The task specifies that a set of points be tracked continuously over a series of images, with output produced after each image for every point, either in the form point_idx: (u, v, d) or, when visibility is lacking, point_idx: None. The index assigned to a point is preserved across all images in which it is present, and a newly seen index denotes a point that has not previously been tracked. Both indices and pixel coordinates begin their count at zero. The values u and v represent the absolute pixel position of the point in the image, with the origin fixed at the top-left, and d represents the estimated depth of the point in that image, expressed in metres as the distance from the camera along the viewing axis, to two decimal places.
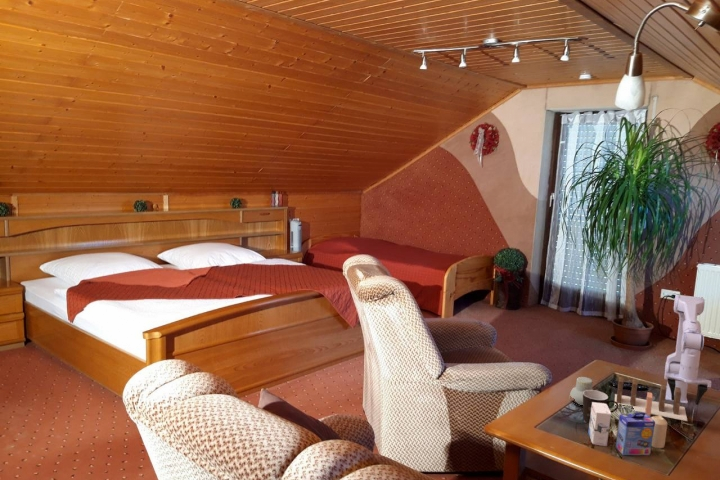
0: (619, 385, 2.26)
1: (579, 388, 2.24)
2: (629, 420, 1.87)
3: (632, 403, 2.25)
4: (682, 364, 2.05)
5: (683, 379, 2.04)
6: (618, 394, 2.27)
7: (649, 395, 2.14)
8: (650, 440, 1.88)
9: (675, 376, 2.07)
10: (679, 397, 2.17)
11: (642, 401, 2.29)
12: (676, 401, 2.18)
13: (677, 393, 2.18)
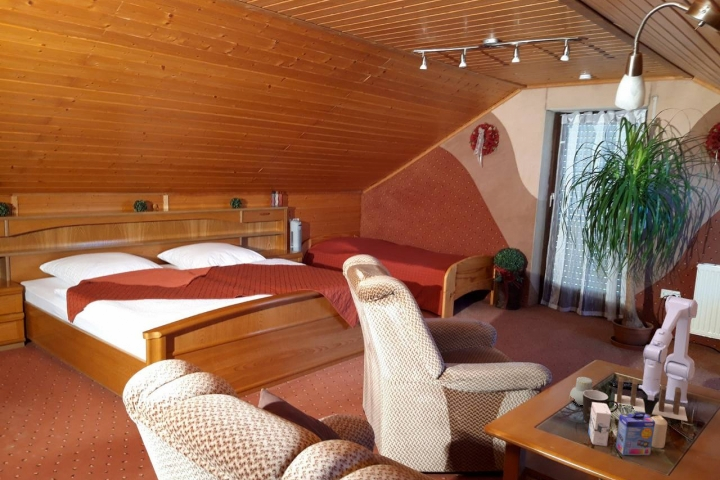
0: (619, 385, 2.26)
1: (579, 388, 2.24)
2: (629, 420, 1.87)
3: (632, 403, 2.25)
4: (644, 374, 2.14)
5: None
6: (618, 394, 2.27)
7: None
8: (650, 440, 1.88)
9: None
10: (679, 397, 2.17)
11: (642, 401, 2.29)
12: (676, 401, 2.18)
13: (677, 393, 2.18)
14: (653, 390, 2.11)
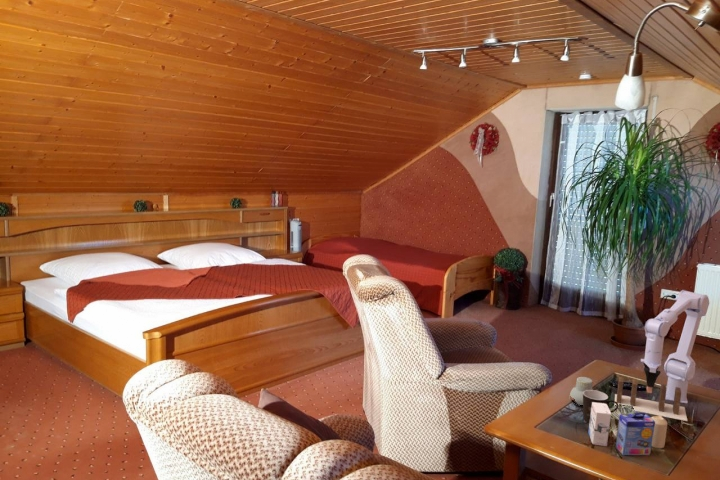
0: (619, 385, 2.26)
1: (579, 388, 2.24)
2: (629, 420, 1.87)
3: (632, 403, 2.25)
4: None
5: None
6: (618, 394, 2.27)
7: None
8: (650, 440, 1.88)
9: None
10: (679, 397, 2.17)
11: (642, 401, 2.29)
12: (676, 401, 2.18)
13: (677, 393, 2.18)
14: (655, 363, 2.17)
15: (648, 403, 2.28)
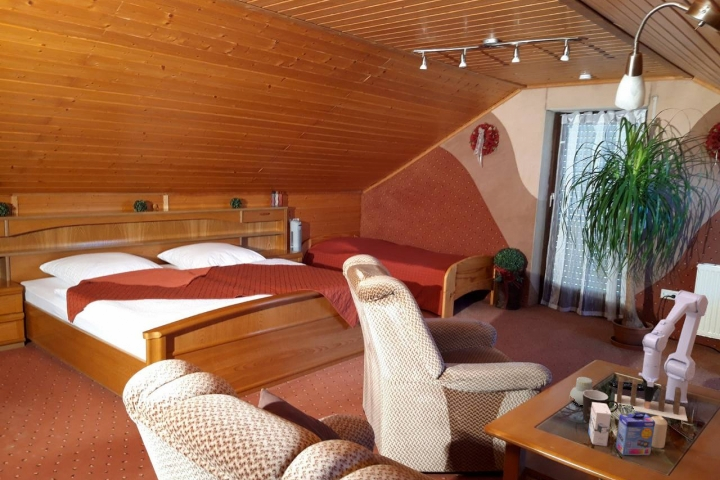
0: (619, 385, 2.26)
1: (579, 388, 2.24)
2: (629, 420, 1.87)
3: (632, 403, 2.25)
4: None
5: None
6: (618, 394, 2.27)
7: None
8: (650, 440, 1.88)
9: None
10: (679, 397, 2.17)
11: (642, 401, 2.29)
12: (676, 401, 2.18)
13: (677, 393, 2.18)
14: (652, 377, 2.20)
15: None
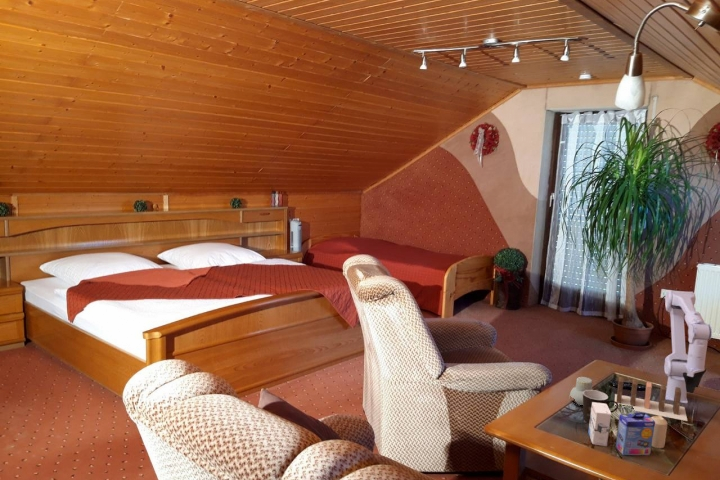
0: (619, 385, 2.26)
1: (579, 388, 2.24)
2: (629, 420, 1.87)
3: (632, 403, 2.25)
4: (691, 354, 2.14)
5: None
6: (618, 394, 2.27)
7: (648, 384, 2.23)
8: (650, 440, 1.88)
9: None
10: (679, 397, 2.17)
11: (642, 401, 2.29)
12: (676, 401, 2.18)
13: (677, 393, 2.18)
14: (696, 368, 2.13)
15: None
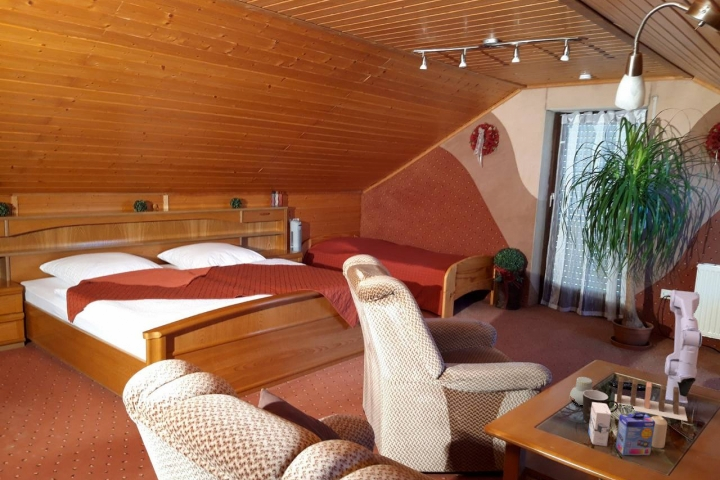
0: (619, 385, 2.26)
1: (579, 388, 2.24)
2: (629, 420, 1.87)
3: (632, 403, 2.25)
4: (681, 360, 2.16)
5: None
6: (618, 394, 2.27)
7: (648, 384, 2.23)
8: (650, 440, 1.88)
9: None
10: (677, 396, 2.18)
11: (642, 401, 2.29)
12: (675, 401, 2.18)
13: (675, 393, 2.18)
14: (685, 374, 2.15)
15: None
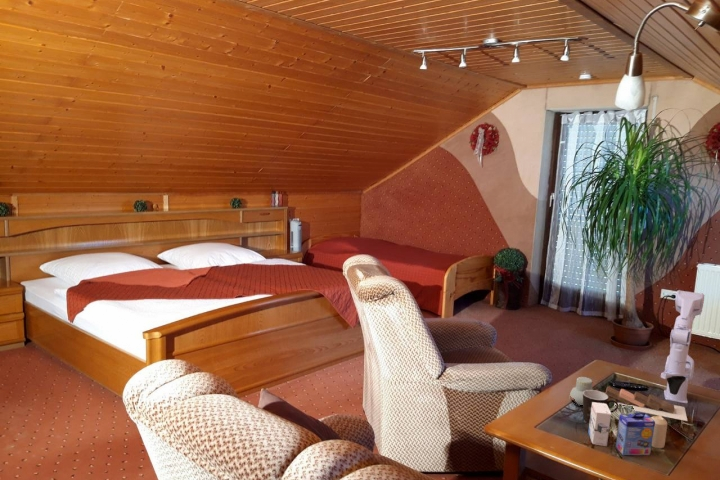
0: None
1: (579, 388, 2.24)
2: (629, 420, 1.87)
3: (626, 402, 2.26)
4: (670, 358, 2.18)
5: None
6: None
7: (620, 393, 2.28)
8: (650, 440, 1.88)
9: None
10: (655, 402, 2.21)
11: None
12: (659, 406, 2.21)
13: (650, 401, 2.22)
14: (673, 372, 2.17)
15: None
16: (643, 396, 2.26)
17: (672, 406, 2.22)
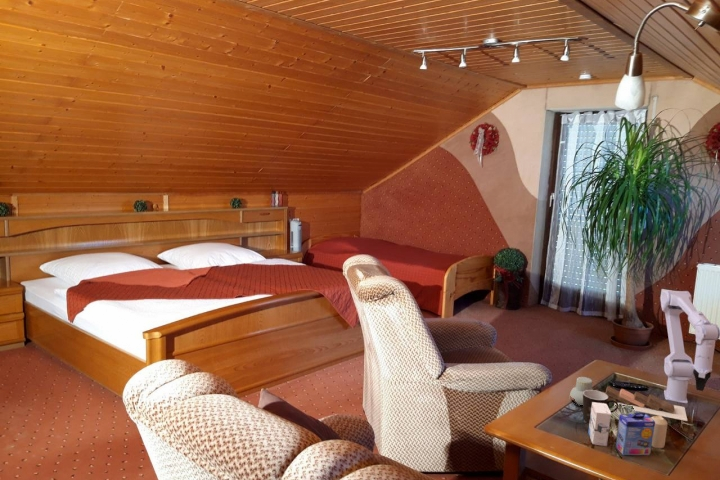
0: None
1: (579, 388, 2.24)
2: (629, 420, 1.87)
3: (626, 402, 2.26)
4: (700, 355, 2.13)
5: None
6: None
7: (620, 393, 2.28)
8: (650, 440, 1.88)
9: None
10: (655, 402, 2.21)
11: None
12: (659, 406, 2.21)
13: (650, 401, 2.22)
14: (705, 368, 2.13)
15: None
16: (643, 396, 2.26)
17: (672, 406, 2.22)
